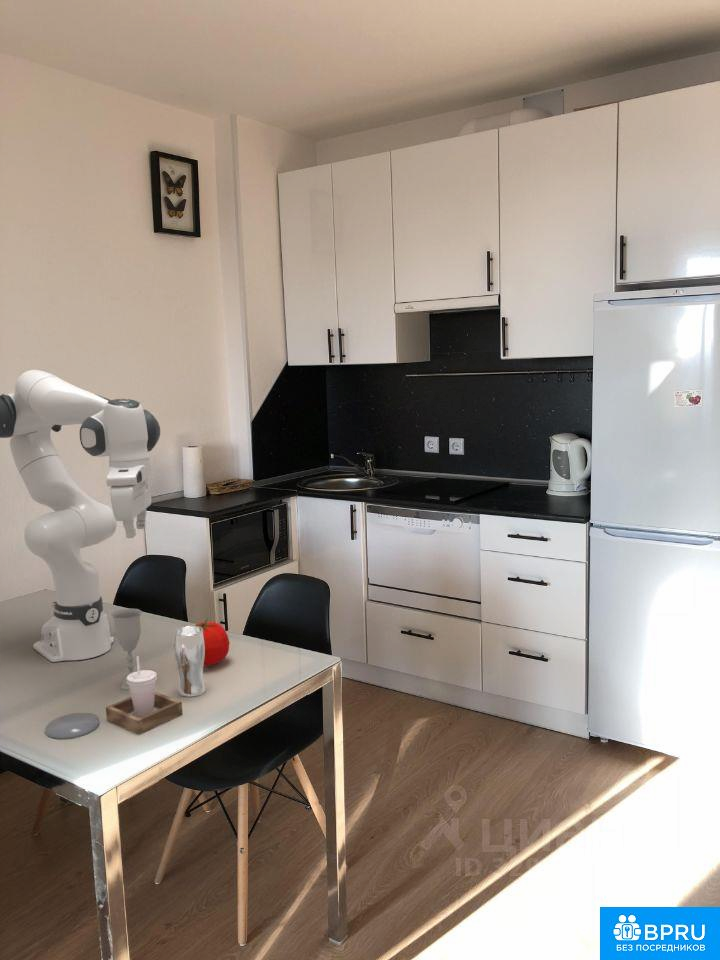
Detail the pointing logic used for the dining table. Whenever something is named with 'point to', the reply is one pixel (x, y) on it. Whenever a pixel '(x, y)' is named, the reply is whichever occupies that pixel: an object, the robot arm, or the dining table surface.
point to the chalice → (127, 634)
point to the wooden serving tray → (140, 725)
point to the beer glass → (190, 659)
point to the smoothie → (142, 690)
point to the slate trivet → (72, 725)
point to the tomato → (214, 642)
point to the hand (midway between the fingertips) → (136, 532)
